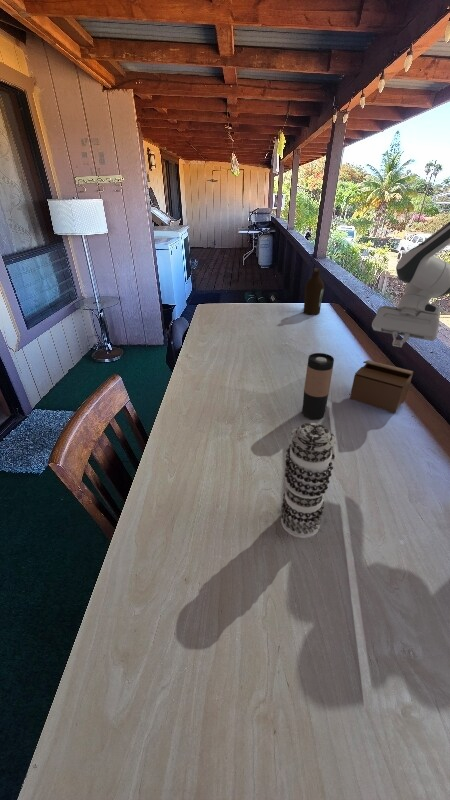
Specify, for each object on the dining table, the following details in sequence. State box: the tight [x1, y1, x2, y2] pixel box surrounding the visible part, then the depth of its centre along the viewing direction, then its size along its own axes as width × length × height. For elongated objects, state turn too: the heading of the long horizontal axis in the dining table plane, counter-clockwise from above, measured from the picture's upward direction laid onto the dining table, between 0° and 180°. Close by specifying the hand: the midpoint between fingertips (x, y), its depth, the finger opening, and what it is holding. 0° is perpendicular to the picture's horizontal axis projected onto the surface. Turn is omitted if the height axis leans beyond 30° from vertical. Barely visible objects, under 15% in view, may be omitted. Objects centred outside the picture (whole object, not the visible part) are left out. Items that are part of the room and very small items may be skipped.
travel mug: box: [301, 352, 335, 421], centre depth 109 cm, size 8×8×20 cm
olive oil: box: [303, 267, 325, 316], centre depth 202 cm, size 11×11×25 cm
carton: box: [349, 363, 414, 414], centre depth 118 cm, size 15×13×11 cm
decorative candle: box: [280, 422, 337, 539], centre depth 71 cm, size 9×9×25 cm
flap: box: [362, 359, 414, 374], centre depth 117 cm, size 15×6×1 cm, turn 52°
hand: (396, 345), depth 117 cm, fingers closed
